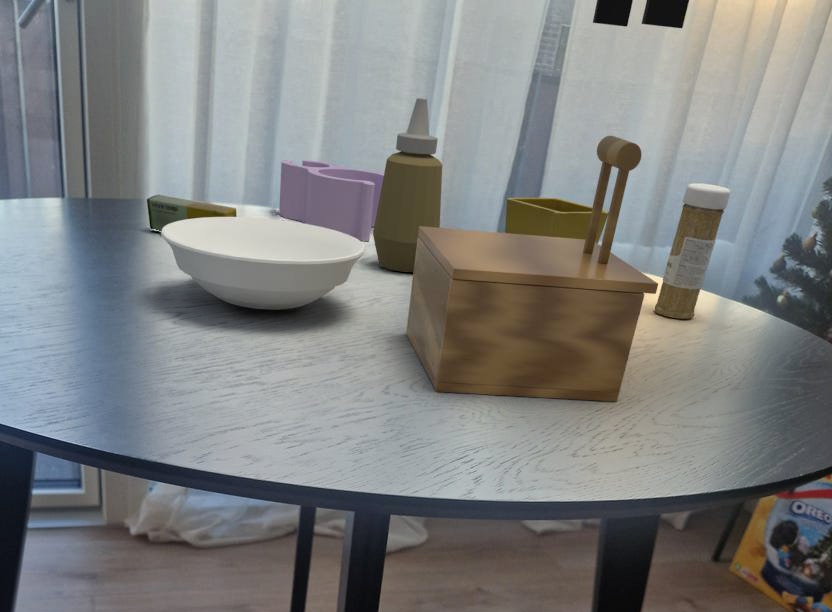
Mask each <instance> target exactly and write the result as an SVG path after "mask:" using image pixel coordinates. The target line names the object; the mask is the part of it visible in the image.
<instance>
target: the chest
mask: <svg viewBox="0 0 832 612" xmlns="http://www.w3.org/2000/svg"><path fill="white" fill-rule="evenodd" d="M412 273H413V274H412V281H411V282H412V283H411V290H410V298H409V306H408V313H407V320H406V321H407V323H406V329H405V334H406V335H407V337H408V340H409V342H410V344H411V346H412V347H413V349H414V351H415V354H416V355H417V357H418V359H419V361H420V363H421V365H422V367H423V369H424V371H425V373H426V375H427V376H428V378H429V381H430V383H431V385H432V387H433V388H434V390H435V392H437V393H439V392H440V393H452V394H453V393H454V394H471V395H472V394H473V395H487V396H488V395H492V396H507V397H523V398H524V397H526V398H542V399H543V398H546V399H562V400H563V399H564V400H579V401H596V402H597V401H598V402H612V403H613V402H615V403H617V402H618V398H619V395H620V391H621V387H622V383H623V379H624V376H625V372H626V368H627V364H628V360H629V357H630V352H631V348H632V345H633V341H634V337H635V333H636V330H637V325H638V322H639V319H640V318H639V317H640V314H641V309H642V306H643V302H644V299H645V293H636V292H622V291H609V290H595V289H582V288H568V287H555V286H541V285H527V284H514V283H500V282H487V281H473V280H460V279H452V278H451V276H450V275H449V274H448V272H447V271H446V270H445V269H444V267H443V266H442V265H441V264H440V262H439V261H438V260H437V258H436V257H435V256H434V255H433V253H432V252H431V251H430V250H429V248H428V247H427V246H426V245H425V243H424V242H423V241H422V239H421V238H420V237H419V236H418V240H417V248H416V256H415V264H414V272H412Z"/></svg>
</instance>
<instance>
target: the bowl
mask: <svg viewBox="0 0 832 612" xmlns="http://www.w3.org/2000/svg"><path fill="white" fill-rule="evenodd" d="M160 235H161V237H162V239H163V240H164V241H165V242H166V244H168V245H169V247H170V248H171V250H172V253H173V257H174V260H175V262H176V266H177V268H178V269H179V270H180V271H181V272H183V273H184V274H185V275H188V276H190V278H191V279H192V280H193V281H194V282H196V283H197V284H198V286H200V287H202V288H203V289H204V290H205V291H207V292H208V293H210V294H211V295H213V296H215V297H216V298H217V299H220V300H222V301H224V302H226V303H229V304H231V305H234V306H238V307H243V308H249V309H255V310H267V311H268V310H269V311H270V310H277V311H279V310H281V311H282V310H290V309H291V310H292V309H297V308H300V307H303V306H305V305H308V304H311V303H312V302H314V301H317V300H319V299H320V298H322V297H323V296H325V295H326V294H328V293H329V292H331V291H333V290H334V289H335V288H336V287H338V286H341V285H343V284H345V283H346V282H348V279H349V277H350V274H351V271H352V269H353V267H354V266H355V264H356V263H357V261H358V260H359V259H360V258H361V257H363V256H364V255H365V253H366V251H367V249H366V246H365V244H364V242H363V241H361V240H359V239H358V238H354V237H352V236H350V235H348V234H345V233H342V232H339V231H335V230H331V229H328V228H324V227H319V226H314V225H309V224H305V223H304V222H299V221H298V222H297V221H291V220H283V219H275V218H263V217H249V216H248V217H247V216H245V217H244V216H237V217H204V218H194V219H186V220H181V221H176V222H173V223H170V224H167V225H166V226H164V227H163V229H162V232H160Z"/></svg>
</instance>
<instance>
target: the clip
mask: <svg viewBox="0 0 832 612" xmlns="http://www.w3.org/2000/svg"><path fill="white" fill-rule="evenodd" d="M383 177H384V173H382V172H378V171H372V170H365V169H359V168H358V169H357V168H350V167H344V166H340V165H337V164H334V163H330V162H325V161H318V160H310V159H302V162H301V165H300V164H295V163H293V161H292V160H285V159H284V160H281V162H280V183H279V187H280V188H279V208H278V210H279V211H278V215H279V216H280V217H283V218H285V219H289V220H294V221H298V222H300V223H304V224H309V225H314V226H319V227H324V228H328V229H331V230H335V231H339V232H342V233H345V234H348V235H350V236H352V237H354V238H356V239H358V240H360V241H361V242H370V238H371V228H372V227H373V228H374V225H375V220H376V214H377V209H378V204H379V198H380V193H381V188H382V183H383Z"/></svg>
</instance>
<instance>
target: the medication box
mask: <svg viewBox="0 0 832 612" xmlns="http://www.w3.org/2000/svg"><path fill="white" fill-rule="evenodd" d="M146 204H147V205H146V206H147V213H148V222H149V229H150V228H151V229H156V230H159V231H162V229H163V227H164V226H166V225H167V224H170V223H173V222H176V221H181V220H186V219H194V218H204V217H238V216H237V208H236V207H231V206H225V205H219V204H215V203H208V202H202V201H196V200H191V199H186V198H185V199H184V198H179V197H175V196H174V197H173V196H168V195H162V194H155V195H151V196H150V197H148V198H146Z"/></svg>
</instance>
